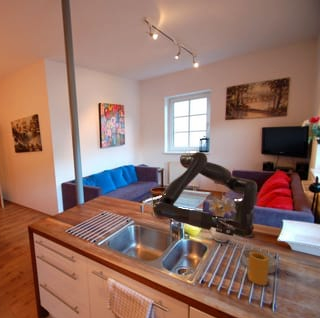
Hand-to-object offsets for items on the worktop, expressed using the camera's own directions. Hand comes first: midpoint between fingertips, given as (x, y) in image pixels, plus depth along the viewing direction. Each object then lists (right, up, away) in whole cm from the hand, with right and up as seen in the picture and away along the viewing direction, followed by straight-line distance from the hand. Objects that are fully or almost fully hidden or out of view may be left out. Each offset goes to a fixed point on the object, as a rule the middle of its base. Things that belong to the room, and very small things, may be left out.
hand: (242, 229), depth 85 cm
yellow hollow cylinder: (+6, -21, 0) cm, 22 cm away
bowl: (+14, -20, +8) cm, 26 cm away
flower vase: (+12, -17, +30) cm, 36 cm away
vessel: (-7, -13, +67) cm, 69 cm away
